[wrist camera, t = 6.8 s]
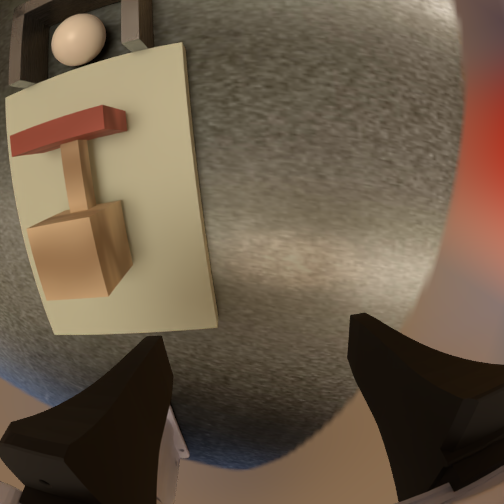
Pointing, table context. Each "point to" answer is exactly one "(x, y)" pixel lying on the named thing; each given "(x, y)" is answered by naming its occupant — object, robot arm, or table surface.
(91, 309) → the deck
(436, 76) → the table surface
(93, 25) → the ball
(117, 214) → the t-shaped pusher
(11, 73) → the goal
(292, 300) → the table surface
